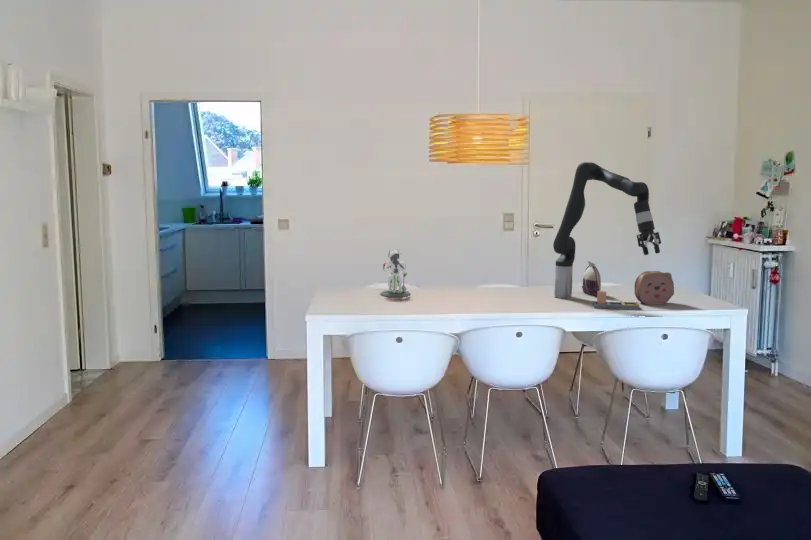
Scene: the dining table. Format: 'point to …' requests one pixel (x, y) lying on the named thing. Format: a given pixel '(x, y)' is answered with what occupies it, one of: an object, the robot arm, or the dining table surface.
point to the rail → (617, 305)
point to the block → (601, 297)
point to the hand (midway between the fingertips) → (652, 254)
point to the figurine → (395, 276)
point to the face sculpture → (654, 287)
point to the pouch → (591, 280)
